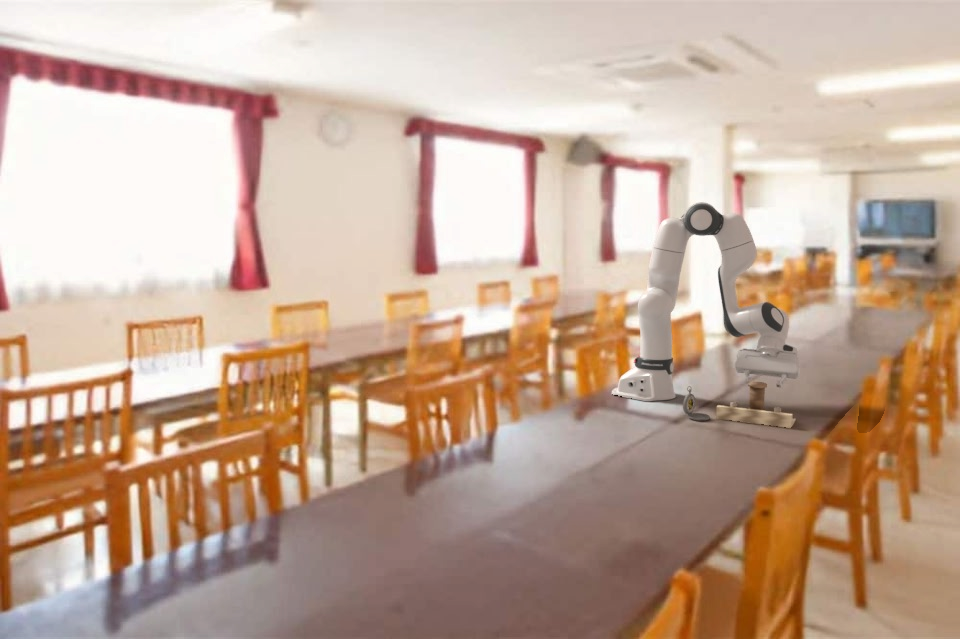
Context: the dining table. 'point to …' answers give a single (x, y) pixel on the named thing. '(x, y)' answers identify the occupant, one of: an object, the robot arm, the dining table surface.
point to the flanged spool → (757, 395)
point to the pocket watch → (692, 408)
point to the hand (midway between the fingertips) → (763, 384)
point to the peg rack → (755, 415)
